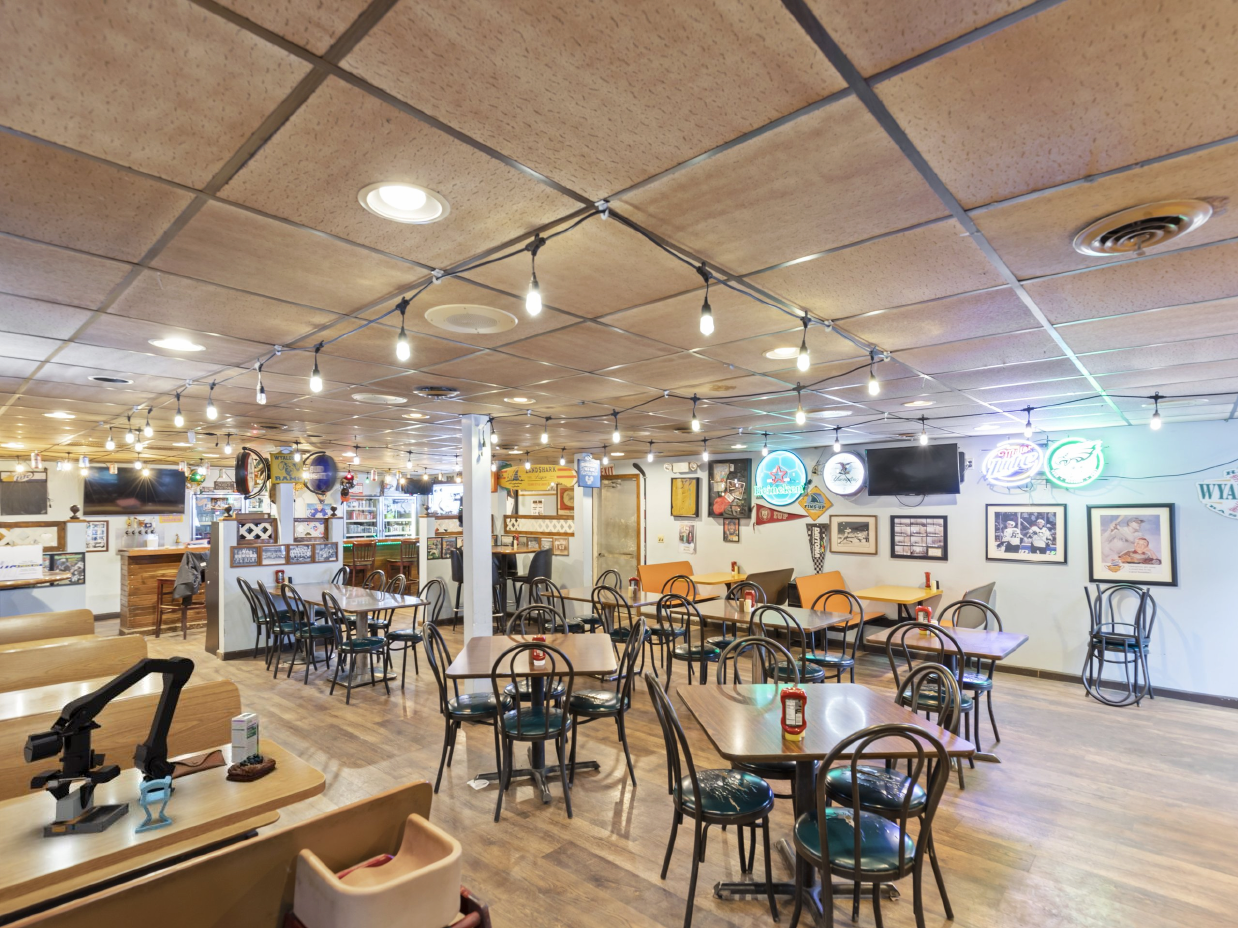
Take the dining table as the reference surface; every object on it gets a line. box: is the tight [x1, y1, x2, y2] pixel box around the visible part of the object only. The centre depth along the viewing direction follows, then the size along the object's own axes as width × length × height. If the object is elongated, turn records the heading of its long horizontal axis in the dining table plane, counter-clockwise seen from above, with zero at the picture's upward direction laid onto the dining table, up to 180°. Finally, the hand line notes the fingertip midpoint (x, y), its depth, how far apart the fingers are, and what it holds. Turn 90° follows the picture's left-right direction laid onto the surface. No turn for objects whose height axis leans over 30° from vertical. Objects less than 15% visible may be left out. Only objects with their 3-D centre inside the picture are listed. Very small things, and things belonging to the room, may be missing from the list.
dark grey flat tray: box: [43, 802, 130, 838], centre depth 168 cm, size 14×11×2 cm
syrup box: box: [231, 712, 260, 764], centre depth 210 cm, size 6×6×14 cm
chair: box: [134, 776, 173, 835], centre depth 168 cm, size 8×8×12 cm
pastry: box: [225, 754, 277, 783], centre depth 198 cm, size 11×12×6 cm
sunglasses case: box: [169, 749, 228, 781], centre depth 203 cm, size 18×7×7 cm
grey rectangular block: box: [55, 787, 95, 821], centre depth 168 cm, size 4×8×5 cm, turn 8°
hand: (75, 809), depth 168 cm, fingers closed on grey rectangular block, 4 cm apart
